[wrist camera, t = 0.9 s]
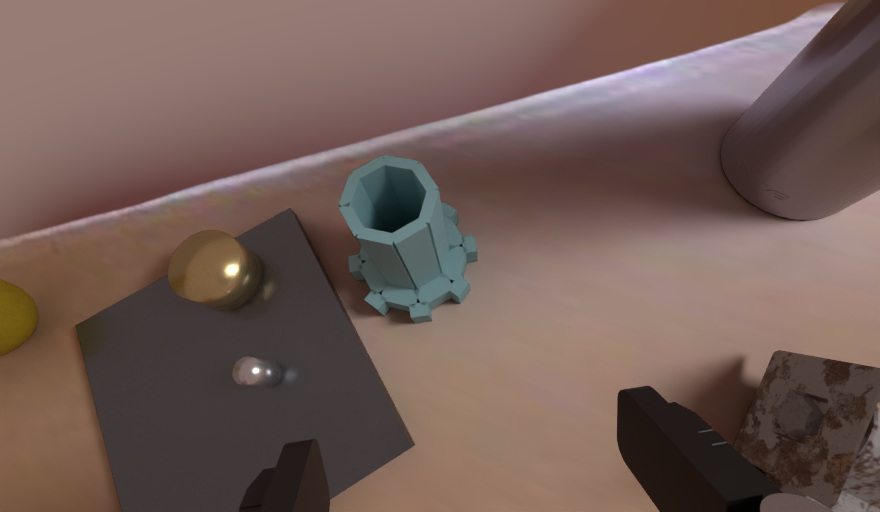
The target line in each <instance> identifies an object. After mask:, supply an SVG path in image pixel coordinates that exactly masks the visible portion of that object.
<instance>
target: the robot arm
mask: <svg viewBox="0 0 880 512" xmlns="http://www.w3.org/2000/svg"><path fill="white" fill-rule="evenodd" d="M721 162H722V166H723V169H724V172H725V174H726V176H727V178H728V180H729V181H730V183H731V184H732V185H733V187H734V188H735V189H736V190H737V191H738V193H739V194H741V195H742V196H743V197H744V198H745V199H747V200H748V201H749V202H750V203H752V204H753V205H755V206H757V207H759V208H760V209H762V210H764V211H766V212H769V213H772V214H774V215H777V216H780V217H785V218H790V219H797V220H812V219H819V218H824V217H827V216H830V215H833V214H835V213H837V212H839V211H841V210H843V209H845V208H847V207H849V206H850V205H852V204H854V203H856V202H858V201H860V200H862V199H863V198H865V197H867V196H869V195H871V194H873V193H875V192H877V191H878V190H880V0H848V1H847V2H846V3H845V4H844V5H843V6H842V7H841V8H840V10H839V11H838V12H837V13H836V14H835V15H834V16H833V17H832V18H831V19H830V20H829V22H828V23H827V24H826V25H825V26H824V27H823V28H822V29H821V30H820V31H819V32H818V34H817V35H816V36H815V37H814V38H813V39H812V40H811V41H810V42H809V43H808V44H807V46H806V47H805V48H804V49H803V50H802V51H801V52H800V53H799V54H798V55H797V56H796V58H795V59H794V60H793V61H792V62H791V63H790V64H789V65H788V66H787V67H786V68H785V70H784V71H783V72H782V73H781V74H780V75H779V76H778V77H777V78H776V79H775V80H774V82H773V83H772V84H771V85H770V86H769V87H768V88H767V89H766V90H765V91H764V92H763V93H762V94H761V96H760V97H759V98H758V99H757V100H756V101H755V102H754V103H753V104H752V105H751V106H750V108H749V109H748V110H747V111H746V112H745V113H744V114H743V115H742V116H741V117H740V118H739V120H738V121H737V122H736V123H735V124H734V125H733V126H732V127H731V128H730V129H729V131H728V132H727V134H726V136H725V137H724V139H723V143H722V147H721ZM617 442H618V446H619V450H620V453H621V455H622V458H623V460H624V461H625V463H626V465H627V466H628V467H629V469H630V470H631V472H632V473H633V475H634V476H635V477H636V479H637V480H638V482H639V483H640V484H641V486H642V487H643V489H644V490H645V491H646V493H647V494H648V496H649V497H650V498H651V500H652V501H653V503H654V504H655V505H656V507H657V508H658V510H659V511H660V512H833V511H832V510H830V509H828V508H827V507H825V506H823V505H821V504H819V503H817V502H815V501H813V500H810V499H808V498H805V497H802V496H798V495H794V494H787V493H783V492H782V491H781V490H780V489H779V488H777V487H776V486H775V485H774V484H773V483H772V482H771V481H770V480H769V479H768V478H766V477H765V476H764V475H763V474H762V473H761V472H760V471H759V470H758V469H757V468H755V467H754V466H753V465H752V464H751V463H750V462H749V461H748V460H747V459H746V458H744V457H743V456H742V455H741V454H740V453H739V452H738V451H737V450H736V449H735V448H734V447H732V446H731V445H730V444H727V443H726V440H725V439H724V438H723V437H721V436H720V435H719V434H718V433H717V432H716V431H713V429H712V427H710V426H709V425H708V424H707V423H706V422H705V421H704V420H703V419H702V418H701V417H699V416H698V415H697V414H696V413H694V412H692V411H691V410H689V409H687V408H685V407H683V406H681V405H679V404H677V403H676V402H672V403H668V402H667V401H666V400H665V399H664V398H663V397H662V396H661V395H660V394H659V393H658V392H657V391H655V390H654V389H653V388H652V387H650V386H643V387H637V388H631V389H624V390H620V391H619V393H618V407H617ZM329 507H330V496H329V487H328V482H327V478H326V473H325V469H324V465H323V460H322V456H321V452H320V447H319V444H318V441H317V440H316V439H310V440H304V441H298V442H292V443H286V444H285V445H284V446H283V449H282V451H281V454H280V457H279V460H278V462H277V465H276V467H274V468H268V469H263V470H262V472H261V473H260V474H259V475H258V476H257V477H256V479H255V480H254V481H253V482H252V483H251V484H250V486H249V487H248V488H247V490H246V493H245V495H244V497H243V500H242V502H241V504H240V507H239V512H329Z"/></svg>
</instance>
